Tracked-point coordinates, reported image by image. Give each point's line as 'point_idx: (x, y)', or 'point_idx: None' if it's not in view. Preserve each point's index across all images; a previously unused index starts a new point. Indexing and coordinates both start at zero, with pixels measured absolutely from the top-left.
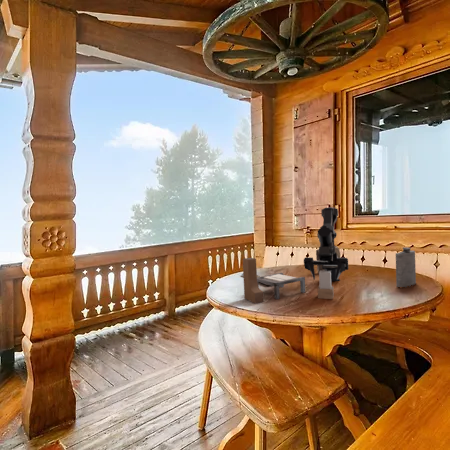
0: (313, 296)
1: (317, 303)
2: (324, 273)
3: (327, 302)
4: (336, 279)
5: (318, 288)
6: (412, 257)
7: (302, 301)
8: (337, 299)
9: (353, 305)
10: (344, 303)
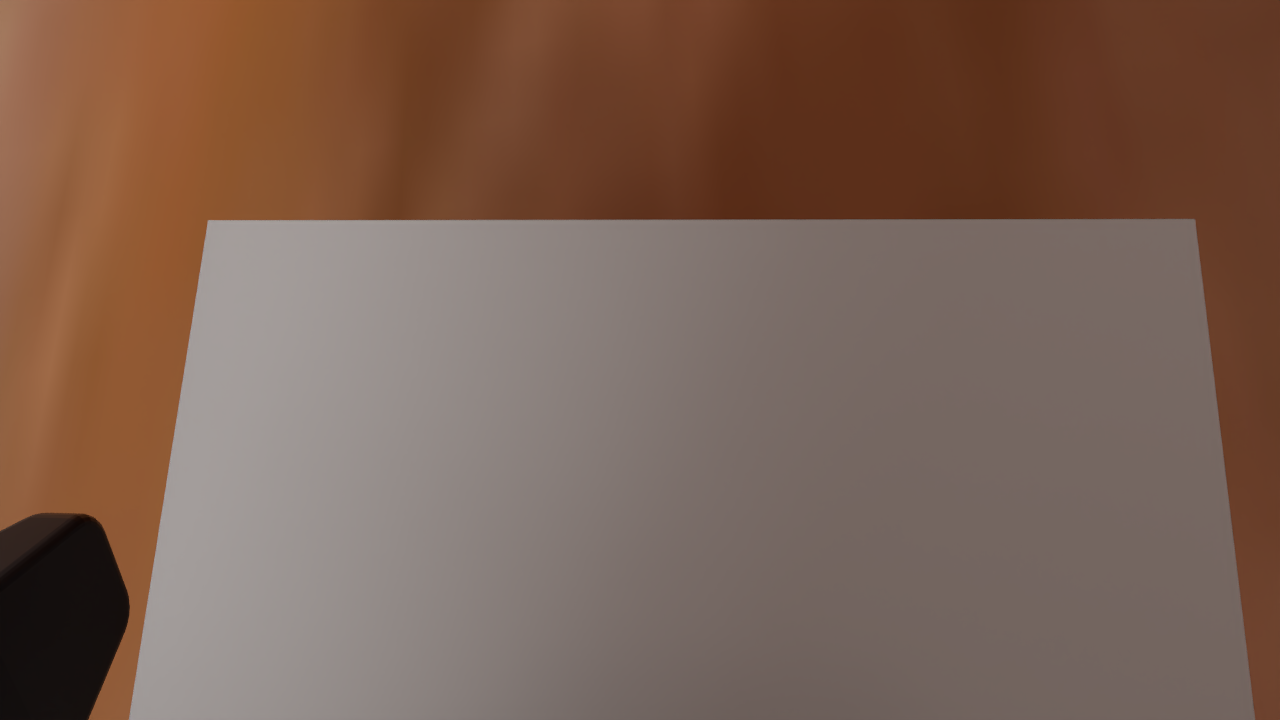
0: None
1: (867, 27)
2: (694, 256)
3: (644, 151)
4: (79, 518)
5: None
6: None
7: (1263, 104)
8: None
9: (105, 57)
10: (269, 156)
